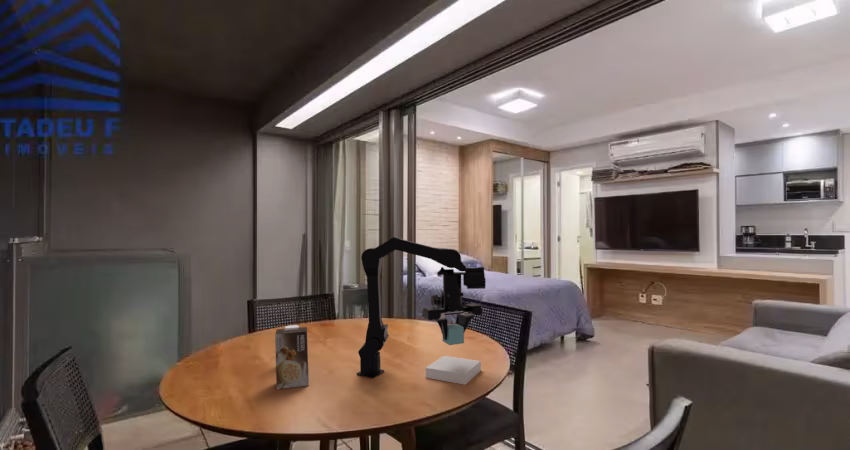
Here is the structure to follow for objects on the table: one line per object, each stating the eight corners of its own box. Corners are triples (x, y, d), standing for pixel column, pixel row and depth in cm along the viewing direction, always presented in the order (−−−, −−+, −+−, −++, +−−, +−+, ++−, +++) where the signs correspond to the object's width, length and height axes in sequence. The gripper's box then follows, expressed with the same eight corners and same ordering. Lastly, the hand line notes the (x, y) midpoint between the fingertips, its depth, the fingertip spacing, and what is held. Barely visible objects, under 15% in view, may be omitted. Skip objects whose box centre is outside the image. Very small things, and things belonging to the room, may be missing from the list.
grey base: (465, 384, 115) (465, 374, 115) (425, 377, 121) (425, 367, 121) (480, 370, 126) (480, 361, 126) (444, 364, 132) (443, 355, 132)
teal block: (449, 345, 120) (449, 328, 120) (442, 341, 125) (442, 325, 125) (464, 343, 122) (463, 327, 122) (456, 339, 127) (456, 323, 127)
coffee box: (309, 378, 122) (308, 326, 122) (308, 386, 116) (308, 331, 116) (277, 382, 119) (276, 328, 120) (275, 390, 113) (274, 333, 113)
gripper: (466, 284, 135) (467, 329, 135) (415, 287, 128) (416, 336, 128) (483, 288, 125) (484, 337, 124) (428, 292, 118) (429, 345, 117)
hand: (453, 338), depth 124 cm, fingers closed on teal block, 5 cm apart
